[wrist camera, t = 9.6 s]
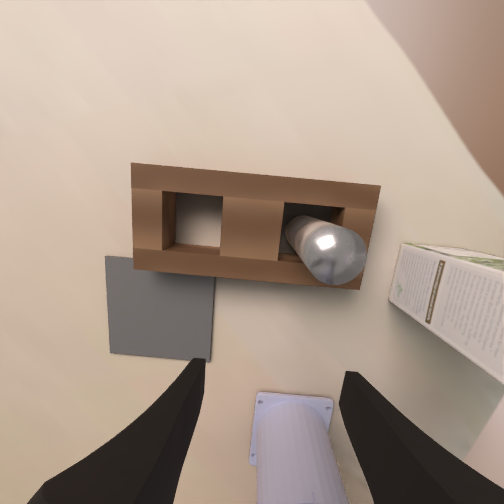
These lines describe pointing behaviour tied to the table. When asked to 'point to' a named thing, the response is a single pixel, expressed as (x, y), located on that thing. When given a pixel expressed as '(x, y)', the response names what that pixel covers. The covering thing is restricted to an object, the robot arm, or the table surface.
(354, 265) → the peg
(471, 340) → the syrup box
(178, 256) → the walnut hole block
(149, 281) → the rubber mat
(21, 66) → the table surface
